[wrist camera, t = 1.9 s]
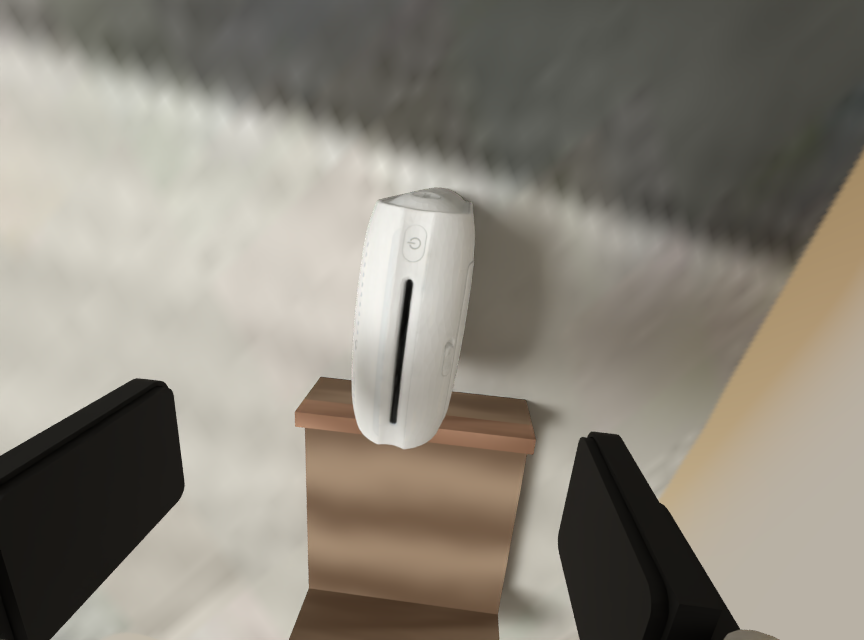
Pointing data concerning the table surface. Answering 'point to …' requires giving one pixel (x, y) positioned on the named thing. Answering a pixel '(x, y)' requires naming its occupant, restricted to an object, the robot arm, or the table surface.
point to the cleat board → (409, 520)
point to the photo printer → (411, 314)
